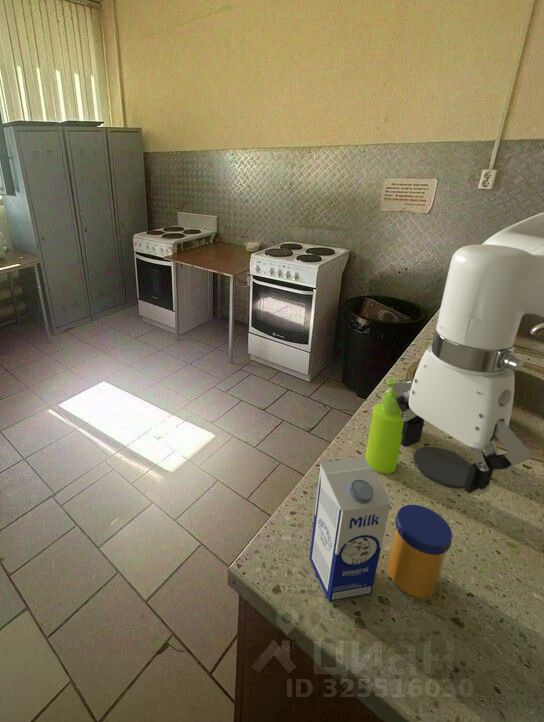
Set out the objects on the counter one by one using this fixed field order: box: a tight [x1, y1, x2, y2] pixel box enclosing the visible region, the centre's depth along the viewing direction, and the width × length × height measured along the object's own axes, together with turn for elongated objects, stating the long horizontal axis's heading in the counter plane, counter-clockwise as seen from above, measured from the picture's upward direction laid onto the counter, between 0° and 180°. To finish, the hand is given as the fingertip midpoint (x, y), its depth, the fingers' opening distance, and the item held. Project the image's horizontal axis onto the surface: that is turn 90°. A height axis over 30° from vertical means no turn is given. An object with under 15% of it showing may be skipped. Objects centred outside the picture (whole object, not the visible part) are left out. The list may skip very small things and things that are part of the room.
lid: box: [394, 504, 453, 555], centre depth 57 cm, size 7×7×2 cm
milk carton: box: [309, 456, 392, 602], centre depth 58 cm, size 7×7×20 cm
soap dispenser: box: [364, 378, 404, 475], centre depth 79 cm, size 6×7×20 cm
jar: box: [386, 527, 448, 599], centre depth 59 cm, size 7×7×10 cm
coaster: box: [412, 446, 472, 489], centre depth 81 cm, size 11×11×1 cm
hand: (439, 463), depth 53 cm, fingers open, 8 cm apart
